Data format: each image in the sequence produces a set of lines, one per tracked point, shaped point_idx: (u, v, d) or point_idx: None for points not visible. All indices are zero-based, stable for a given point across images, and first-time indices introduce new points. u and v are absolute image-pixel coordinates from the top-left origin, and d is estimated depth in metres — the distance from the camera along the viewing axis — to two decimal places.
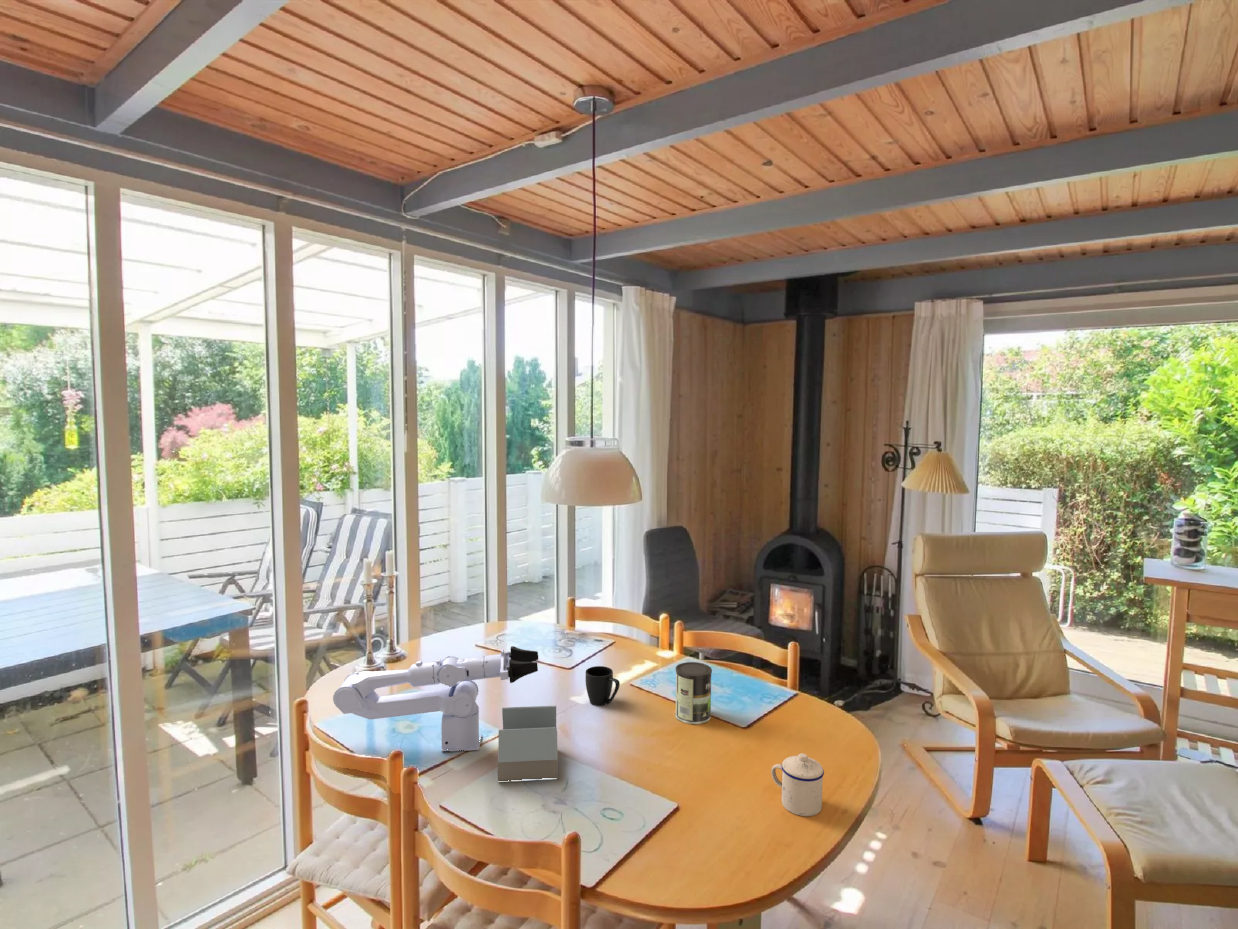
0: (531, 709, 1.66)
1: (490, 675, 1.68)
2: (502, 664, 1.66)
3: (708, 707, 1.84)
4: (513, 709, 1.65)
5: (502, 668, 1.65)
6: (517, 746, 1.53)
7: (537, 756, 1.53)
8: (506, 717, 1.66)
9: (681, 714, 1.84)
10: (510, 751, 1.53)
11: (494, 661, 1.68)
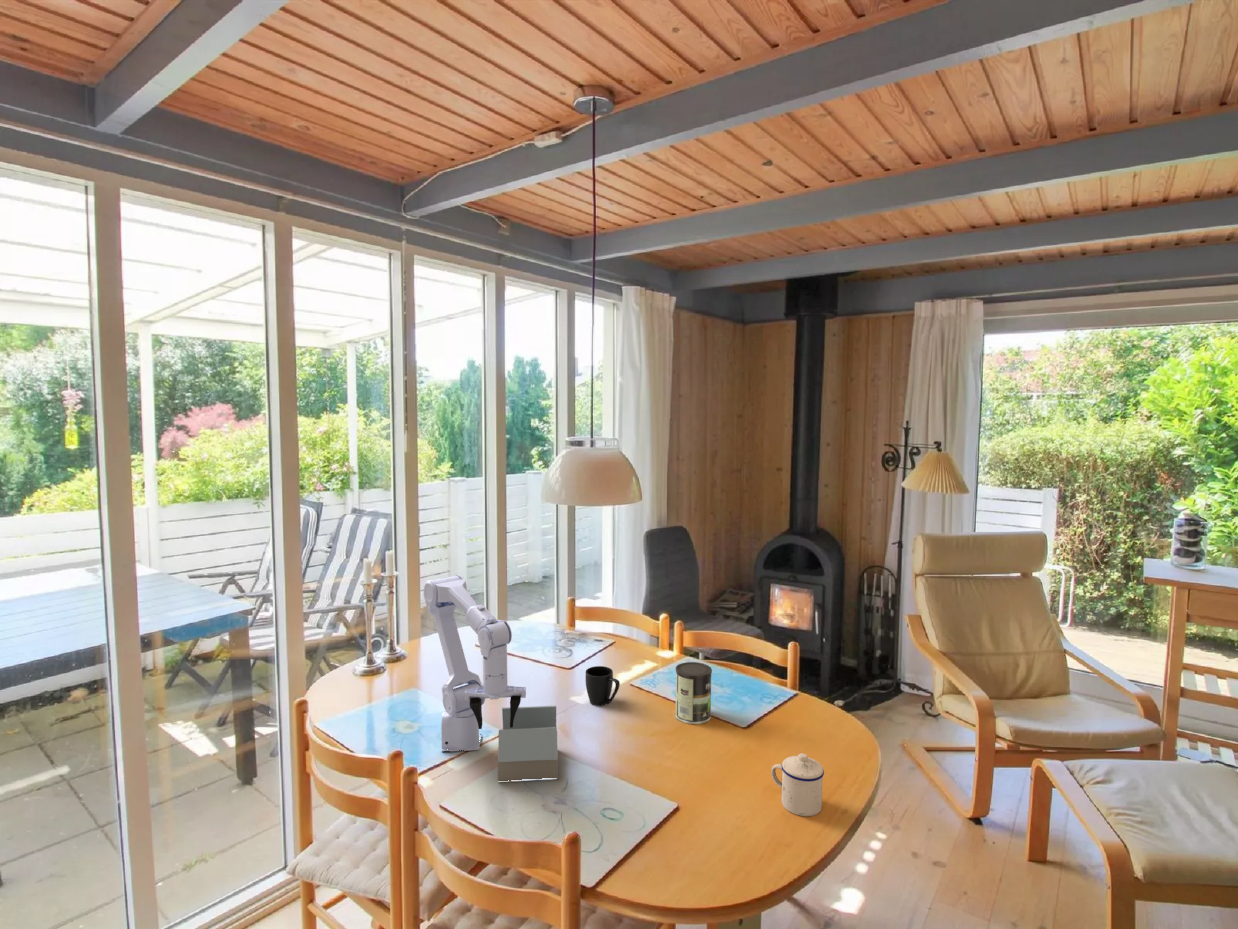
0: (531, 709, 1.66)
1: None
2: (477, 695, 1.57)
3: (708, 707, 1.84)
4: None
5: (472, 695, 1.57)
6: (517, 746, 1.53)
7: (537, 756, 1.53)
8: (506, 717, 1.66)
9: (681, 714, 1.84)
10: (510, 751, 1.53)
11: (486, 686, 1.56)
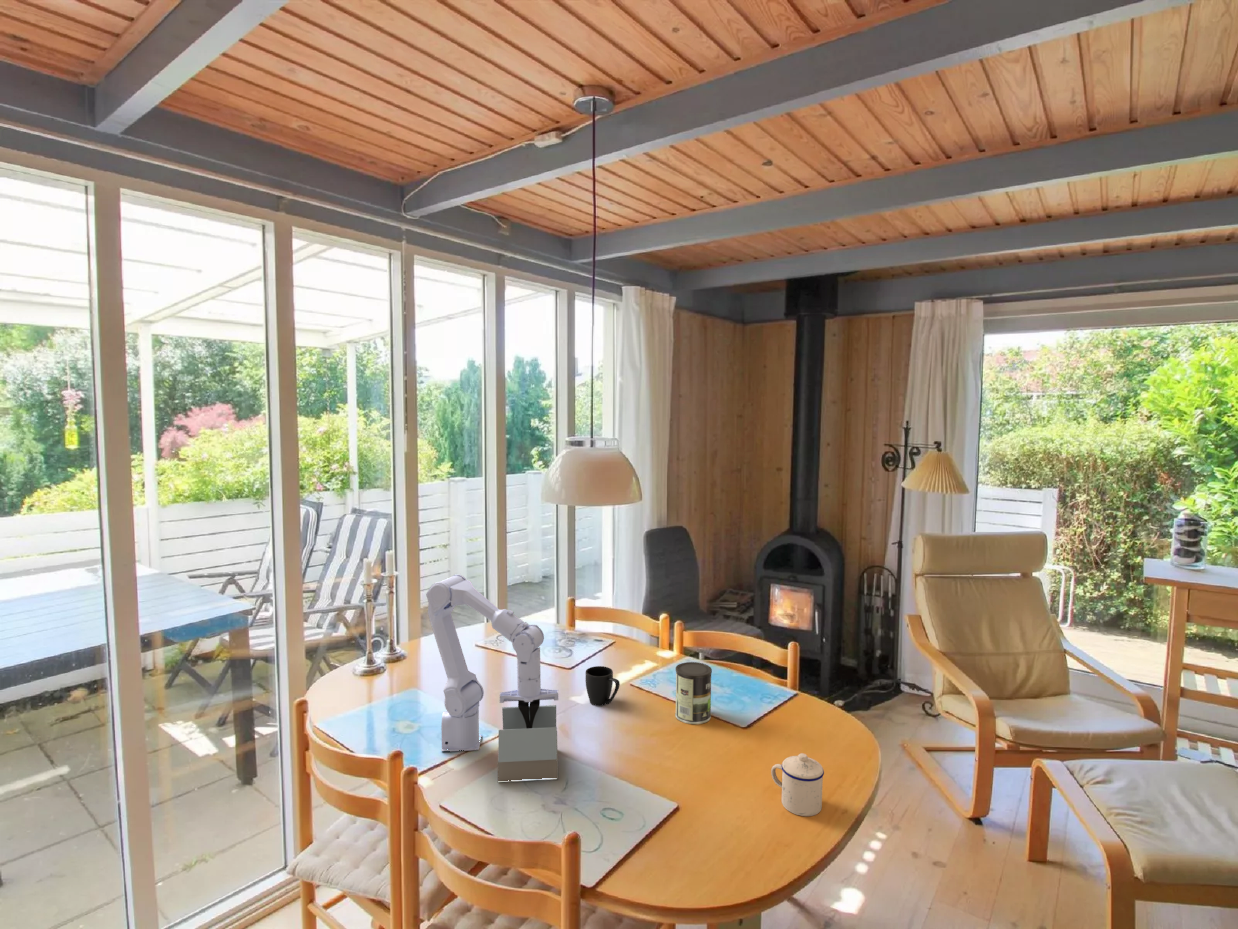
0: None
1: None
2: (512, 698, 1.61)
3: (708, 707, 1.84)
4: (513, 709, 1.65)
5: (506, 697, 1.62)
6: (517, 746, 1.53)
7: (537, 756, 1.53)
8: (506, 717, 1.66)
9: (681, 714, 1.84)
10: (510, 751, 1.53)
11: (520, 689, 1.61)
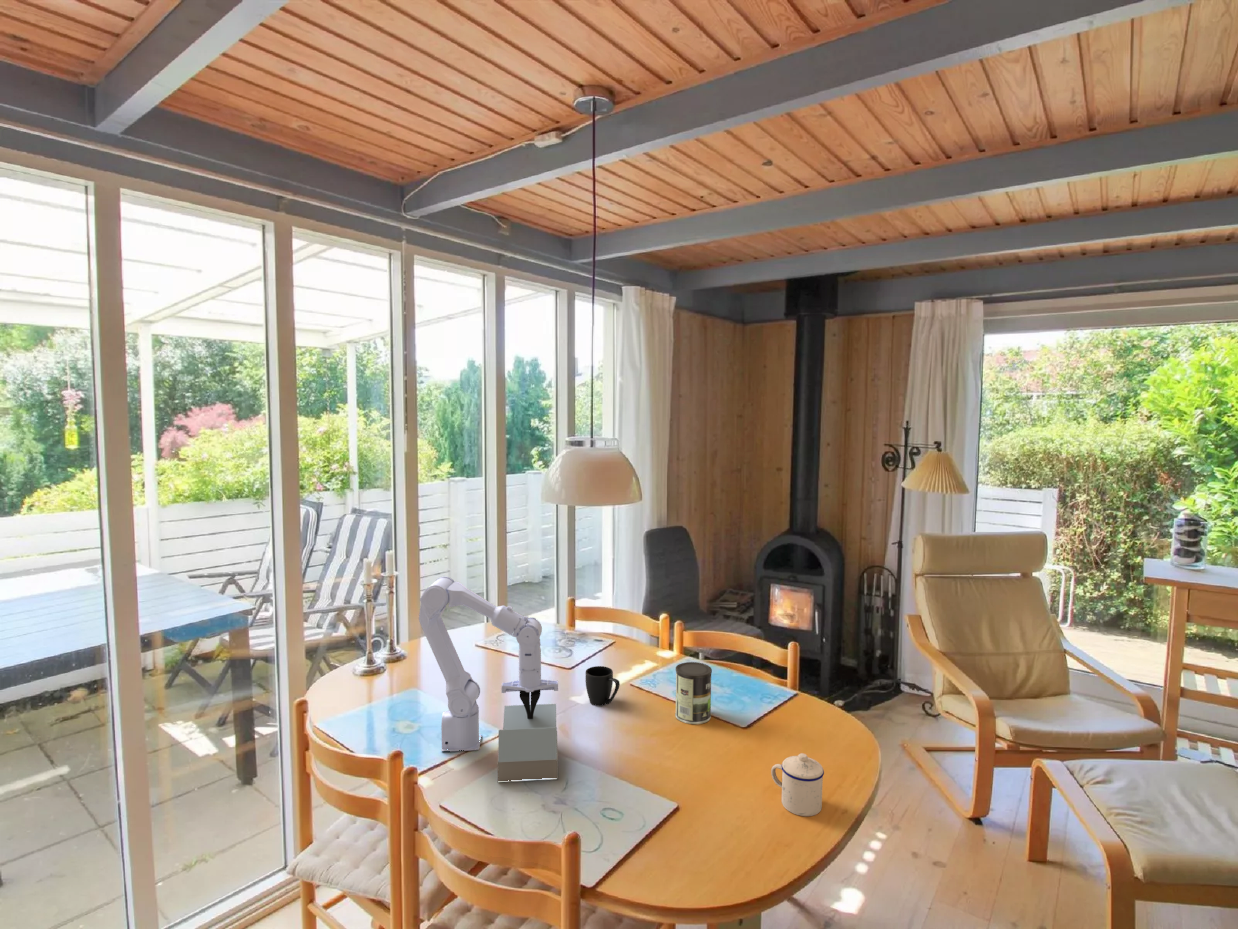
0: None
1: None
2: (513, 688, 1.68)
3: (708, 707, 1.84)
4: (515, 706, 1.73)
5: (508, 687, 1.68)
6: (517, 746, 1.53)
7: (537, 756, 1.53)
8: (507, 715, 1.71)
9: (681, 714, 1.84)
10: (510, 751, 1.53)
11: (521, 680, 1.67)
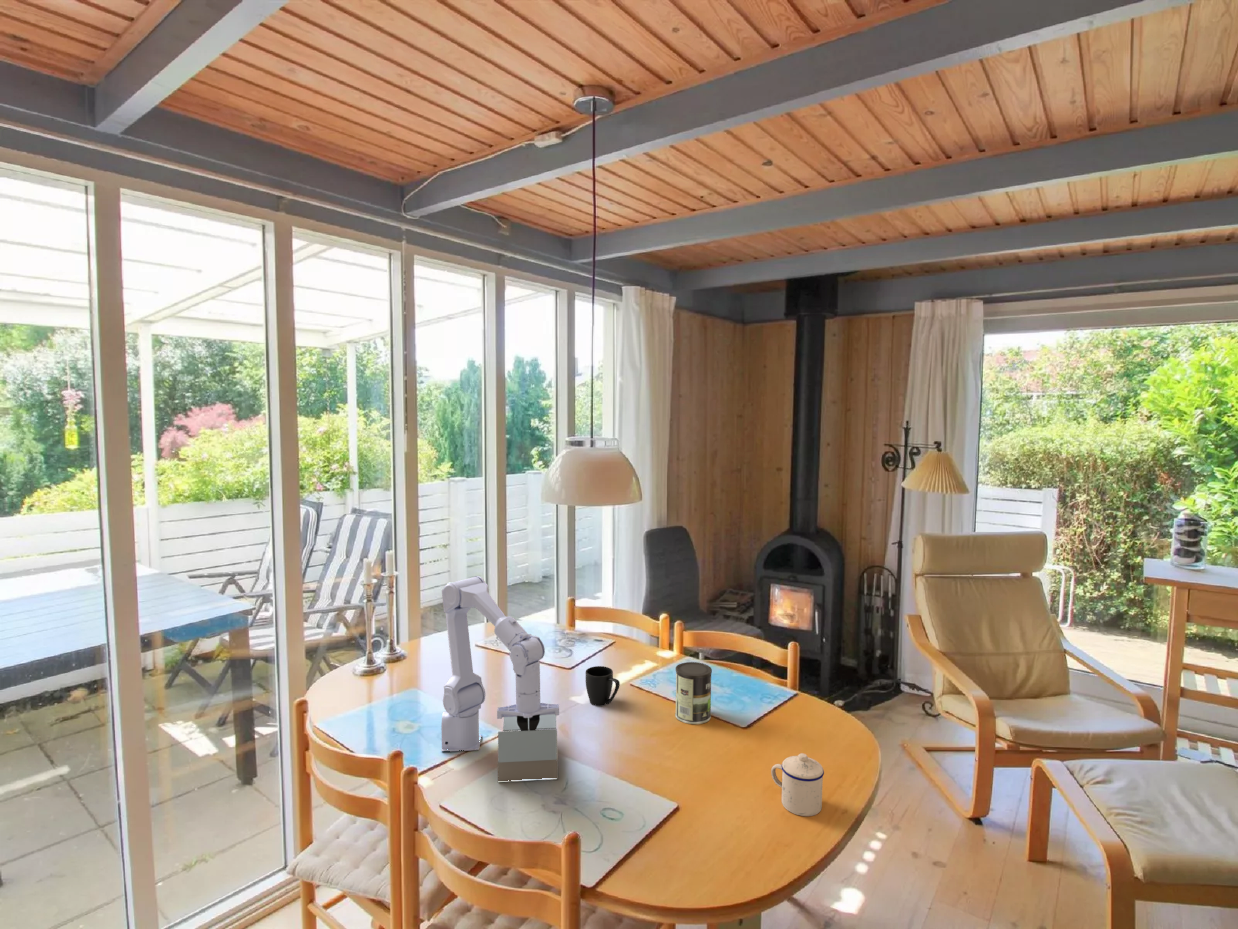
0: None
1: None
2: (510, 713, 1.53)
3: (708, 707, 1.84)
4: None
5: (504, 713, 1.53)
6: (517, 747, 1.53)
7: (537, 757, 1.53)
8: None
9: (681, 714, 1.84)
10: (510, 752, 1.52)
11: (519, 704, 1.52)
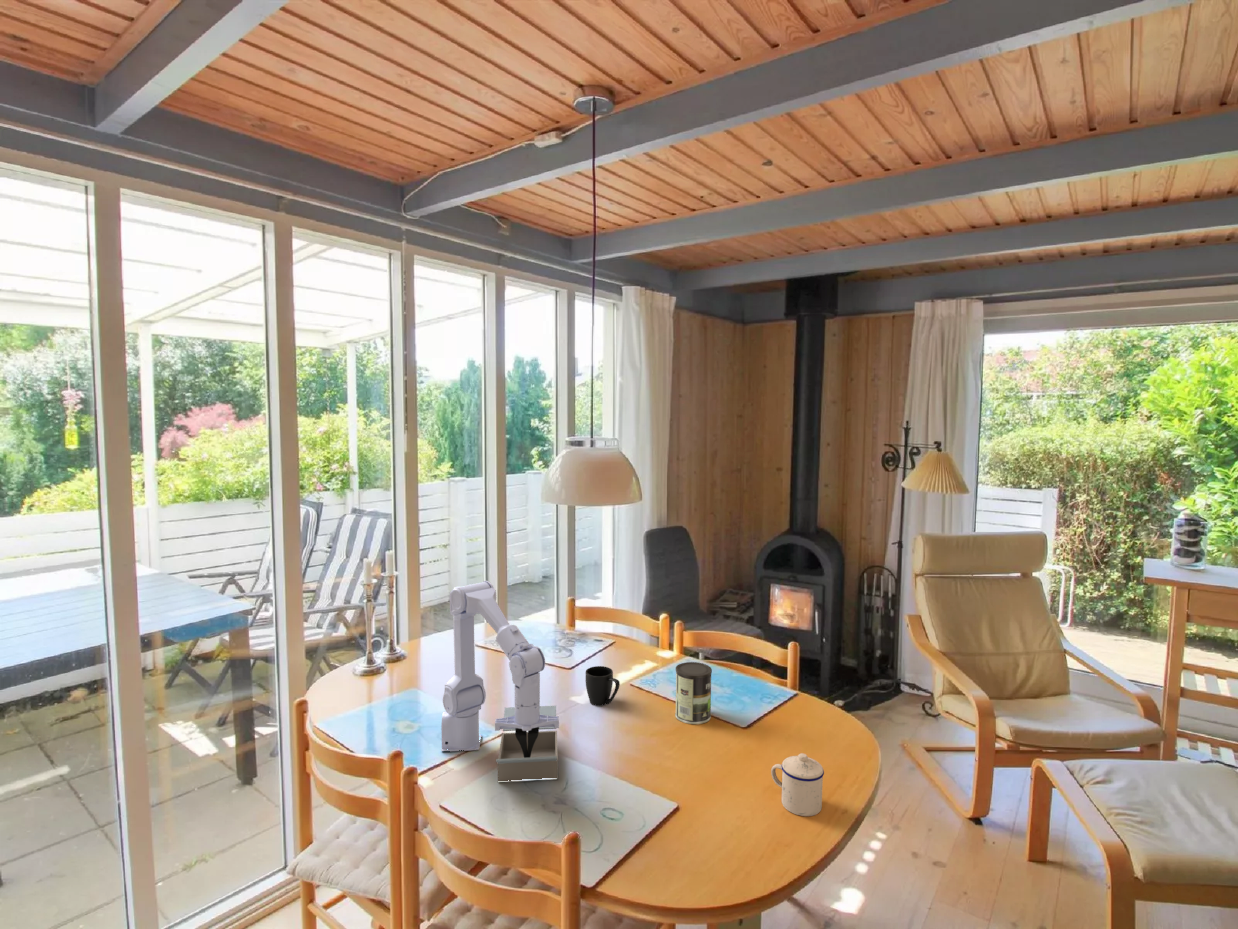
0: None
1: None
2: (508, 725, 1.48)
3: (708, 707, 1.84)
4: None
5: (502, 725, 1.49)
6: (516, 761, 1.50)
7: (537, 761, 1.53)
8: (507, 716, 1.71)
9: (681, 714, 1.84)
10: (509, 762, 1.51)
11: (518, 716, 1.48)
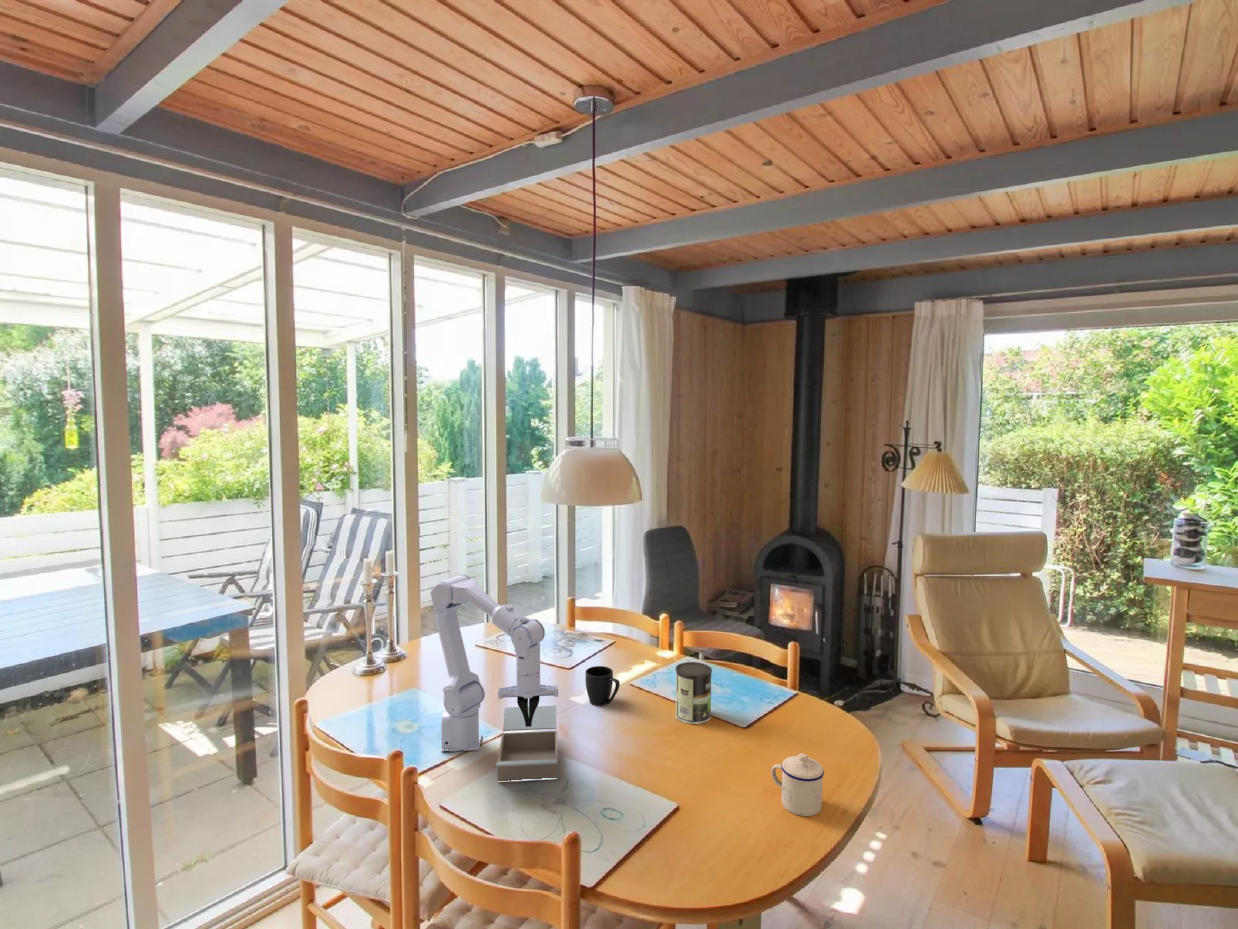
0: None
1: None
2: (511, 694, 1.57)
3: (708, 707, 1.84)
4: (515, 708, 1.74)
5: (505, 693, 1.58)
6: None
7: None
8: (507, 716, 1.71)
9: (681, 714, 1.84)
10: None
11: (519, 685, 1.57)
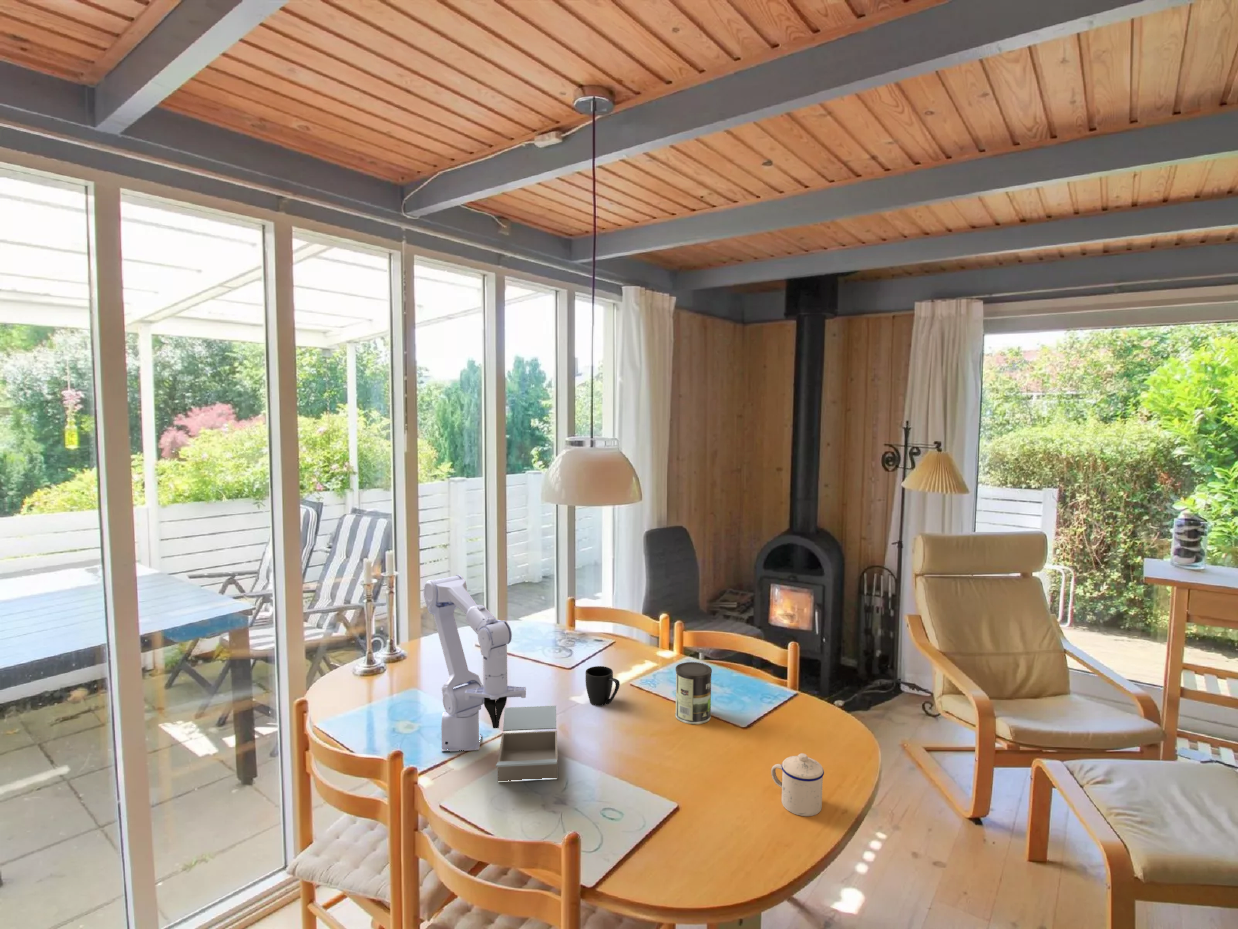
0: (532, 708, 1.74)
1: None
2: (477, 695, 1.57)
3: (708, 707, 1.84)
4: (515, 708, 1.74)
5: (472, 695, 1.57)
6: None
7: None
8: (507, 716, 1.71)
9: (681, 714, 1.84)
10: None
11: (486, 686, 1.56)
